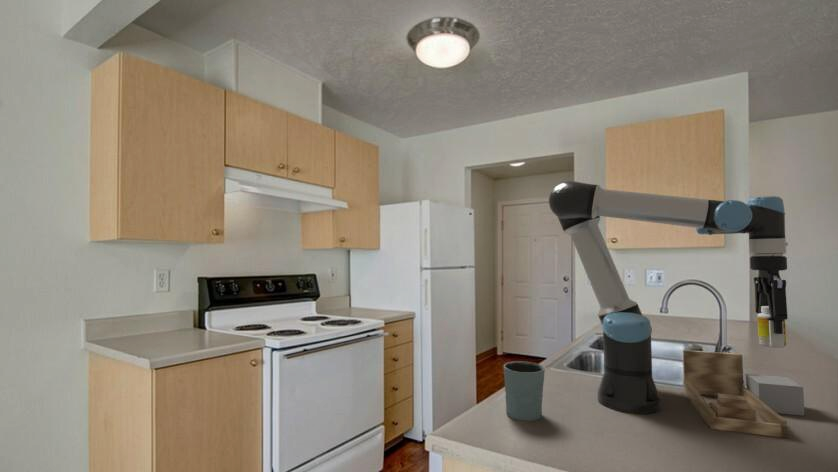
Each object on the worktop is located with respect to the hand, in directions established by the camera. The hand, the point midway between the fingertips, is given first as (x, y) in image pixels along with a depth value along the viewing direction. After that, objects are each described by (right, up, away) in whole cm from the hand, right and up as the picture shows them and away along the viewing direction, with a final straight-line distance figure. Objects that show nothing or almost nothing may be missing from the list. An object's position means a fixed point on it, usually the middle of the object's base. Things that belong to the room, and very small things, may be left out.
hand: (772, 343), depth 110 cm
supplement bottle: (0, -1, 0) cm, 1 cm away
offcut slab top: (-19, -14, -12) cm, 27 cm away
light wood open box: (-14, -16, -3) cm, 22 cm away
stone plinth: (0, -16, -1) cm, 16 cm away
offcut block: (-19, -12, -12) cm, 25 cm away
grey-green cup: (-66, -17, -5) cm, 68 cm away
